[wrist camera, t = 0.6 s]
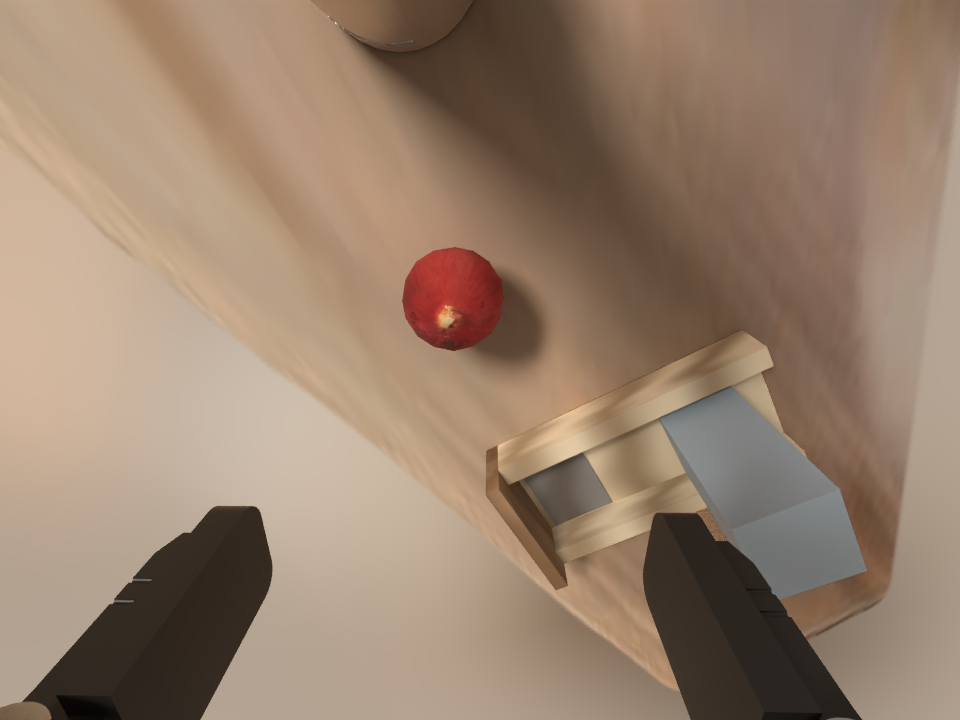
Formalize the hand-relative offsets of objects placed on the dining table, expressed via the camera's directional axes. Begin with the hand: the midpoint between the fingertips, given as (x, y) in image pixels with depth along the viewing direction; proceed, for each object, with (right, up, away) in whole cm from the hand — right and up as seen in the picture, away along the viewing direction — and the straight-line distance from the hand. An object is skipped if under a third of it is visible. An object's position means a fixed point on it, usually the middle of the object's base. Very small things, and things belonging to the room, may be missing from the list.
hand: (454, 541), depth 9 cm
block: (+17, -1, +23) cm, 28 cm away
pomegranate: (-1, +9, +20) cm, 22 cm away
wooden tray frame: (+12, -3, +25) cm, 28 cm away
